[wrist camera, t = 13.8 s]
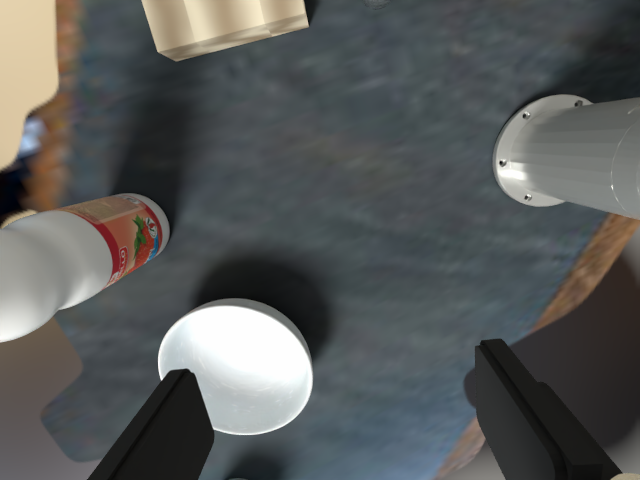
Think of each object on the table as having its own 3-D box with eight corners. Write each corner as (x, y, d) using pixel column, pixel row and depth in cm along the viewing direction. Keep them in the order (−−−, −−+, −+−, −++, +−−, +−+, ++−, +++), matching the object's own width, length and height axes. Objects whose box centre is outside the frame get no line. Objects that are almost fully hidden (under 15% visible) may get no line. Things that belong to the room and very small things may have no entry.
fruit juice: (131, 176, 42) (-242, 238, 15) (185, 227, 43) (-60, 365, 16) (91, 224, 44) (-294, 352, 17) (145, 270, 45) (-129, 453, 19)
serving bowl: (153, 332, 49) (124, 361, 42) (253, 254, 44) (238, 274, 37) (244, 419, 53) (230, 459, 46) (344, 356, 48) (345, 391, 41)
